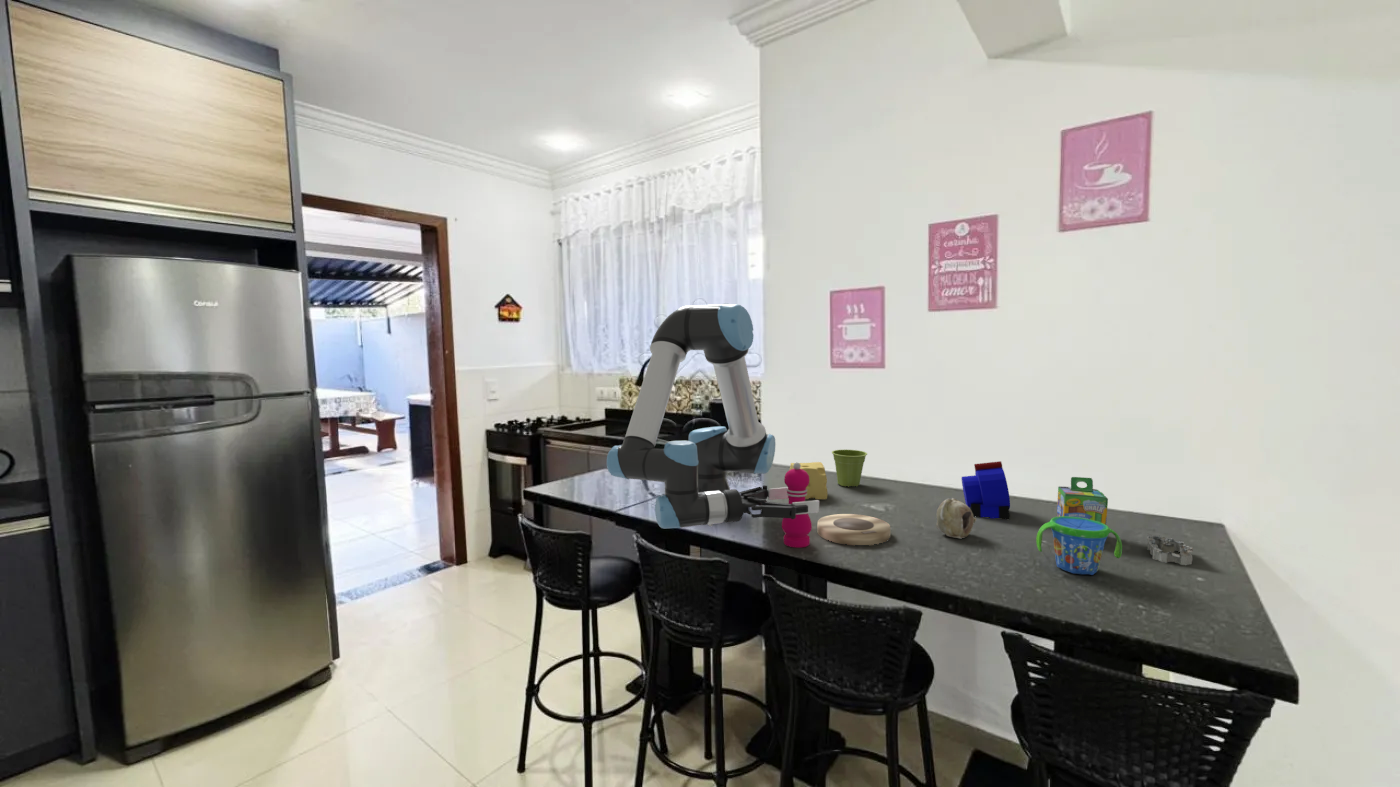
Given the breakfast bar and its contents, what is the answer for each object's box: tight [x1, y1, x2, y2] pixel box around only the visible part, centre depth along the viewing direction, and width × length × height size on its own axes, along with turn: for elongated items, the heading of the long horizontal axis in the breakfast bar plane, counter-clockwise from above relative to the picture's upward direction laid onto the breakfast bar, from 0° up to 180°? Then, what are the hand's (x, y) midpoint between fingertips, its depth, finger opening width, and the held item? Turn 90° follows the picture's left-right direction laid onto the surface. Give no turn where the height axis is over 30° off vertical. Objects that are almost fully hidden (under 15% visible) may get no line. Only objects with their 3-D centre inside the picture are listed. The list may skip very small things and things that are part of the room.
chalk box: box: [1056, 476, 1109, 525], centre depth 146 cm, size 9×9×15 cm
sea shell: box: [935, 497, 977, 540], centre depth 148 cm, size 9×8×10 cm
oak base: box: [816, 513, 891, 546], centre depth 150 cm, size 18×18×3 cm
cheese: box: [788, 461, 828, 500], centre depth 188 cm, size 10×11×10 cm
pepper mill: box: [781, 462, 813, 549], centre depth 142 cm, size 7×7×20 cm
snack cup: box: [1035, 516, 1123, 576], centre depth 125 cm, size 16×10×10 cm
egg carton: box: [1146, 533, 1194, 566], centre depth 133 cm, size 11×8×4 cm
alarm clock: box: [961, 461, 1011, 520], centre depth 168 cm, size 12×12×15 cm
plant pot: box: [831, 449, 868, 488], centre depth 201 cm, size 12×12×11 cm
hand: (805, 498), depth 143 cm, fingers open, 13 cm apart
